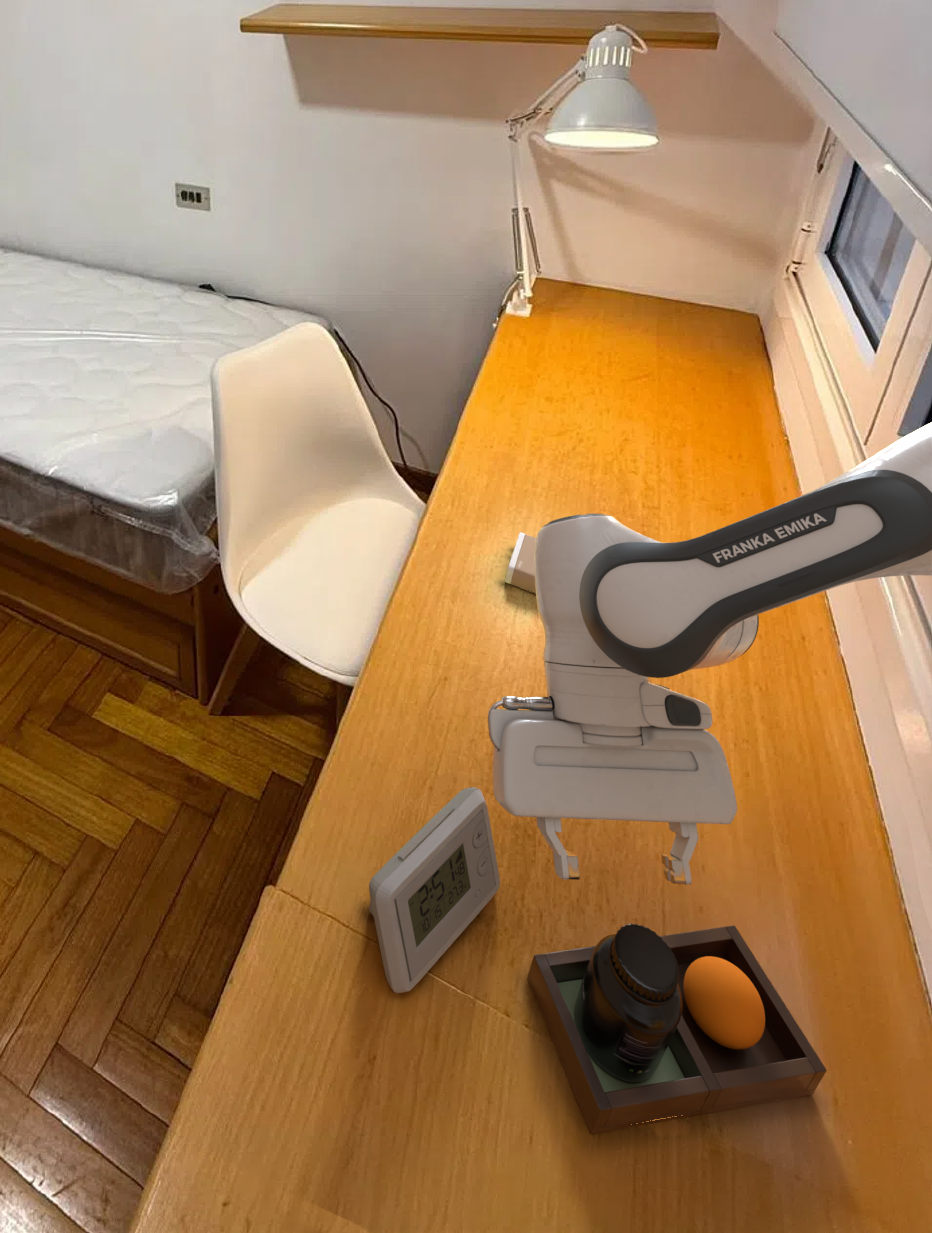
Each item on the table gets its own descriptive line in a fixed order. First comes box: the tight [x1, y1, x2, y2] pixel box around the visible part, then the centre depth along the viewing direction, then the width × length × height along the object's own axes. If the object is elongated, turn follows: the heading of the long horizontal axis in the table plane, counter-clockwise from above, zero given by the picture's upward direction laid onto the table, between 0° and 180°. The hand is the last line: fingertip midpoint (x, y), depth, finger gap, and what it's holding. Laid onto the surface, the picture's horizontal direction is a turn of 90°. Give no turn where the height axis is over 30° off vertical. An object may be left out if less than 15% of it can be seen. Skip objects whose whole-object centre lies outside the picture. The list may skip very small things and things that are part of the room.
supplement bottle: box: [575, 923, 682, 1082], centre depth 69 cm, size 7×7×12 cm
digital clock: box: [368, 786, 501, 994], centre depth 78 cm, size 16×9×11 cm, turn 116°
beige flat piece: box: [504, 531, 536, 595], centre depth 118 cm, size 12×3×20 cm
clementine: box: [683, 956, 765, 1050], centre depth 71 cm, size 6×6×6 cm
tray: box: [526, 925, 828, 1135], centre depth 71 cm, size 20×10×4 cm, turn 97°
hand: (623, 880), depth 70 cm, fingers open, 8 cm apart
